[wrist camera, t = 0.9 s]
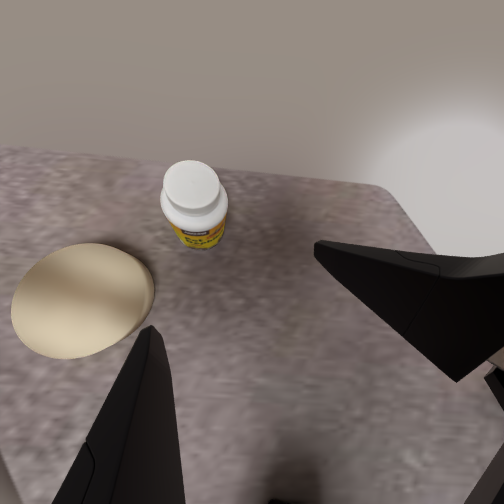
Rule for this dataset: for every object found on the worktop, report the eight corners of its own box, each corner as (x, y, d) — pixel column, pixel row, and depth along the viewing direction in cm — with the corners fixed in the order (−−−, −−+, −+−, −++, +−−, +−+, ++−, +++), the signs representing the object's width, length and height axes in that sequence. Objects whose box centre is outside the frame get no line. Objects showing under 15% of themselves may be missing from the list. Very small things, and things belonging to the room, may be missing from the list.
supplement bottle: (186, 258, 21) (162, 228, 12) (172, 216, 22) (139, 156, 12) (229, 244, 23) (241, 207, 13) (215, 205, 24) (216, 144, 14)
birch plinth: (122, 362, 18) (105, 375, 15) (18, 327, 17) (-21, 334, 14) (170, 271, 21) (164, 267, 18) (84, 236, 20) (62, 226, 17)
